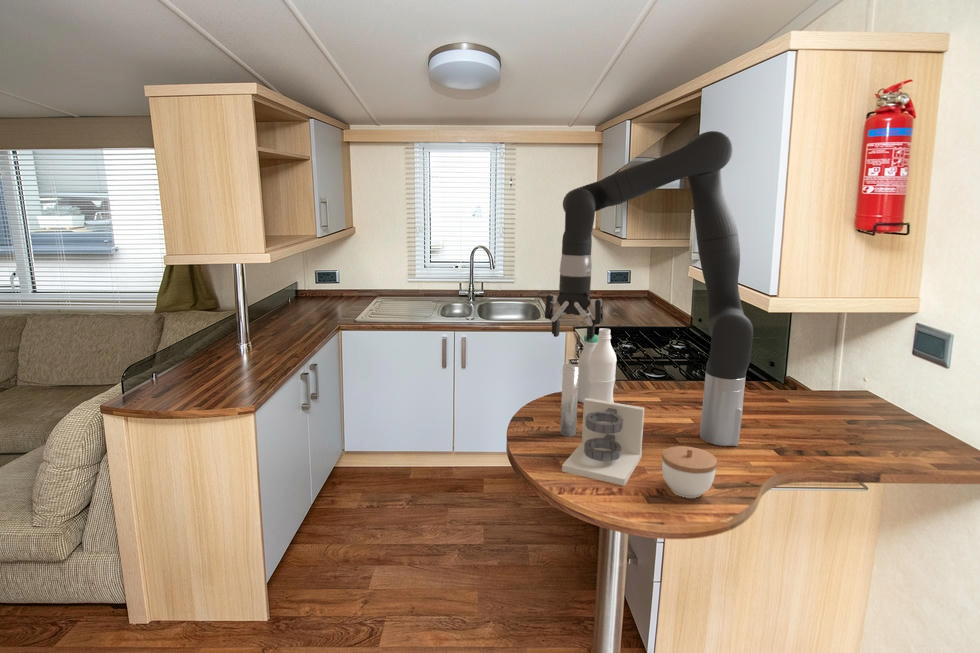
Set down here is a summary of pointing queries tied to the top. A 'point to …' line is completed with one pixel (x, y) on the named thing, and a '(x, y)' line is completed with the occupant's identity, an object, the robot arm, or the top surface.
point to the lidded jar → (688, 470)
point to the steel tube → (569, 400)
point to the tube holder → (626, 438)
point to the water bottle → (602, 368)
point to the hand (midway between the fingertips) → (572, 338)
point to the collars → (609, 440)
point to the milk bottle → (585, 368)
